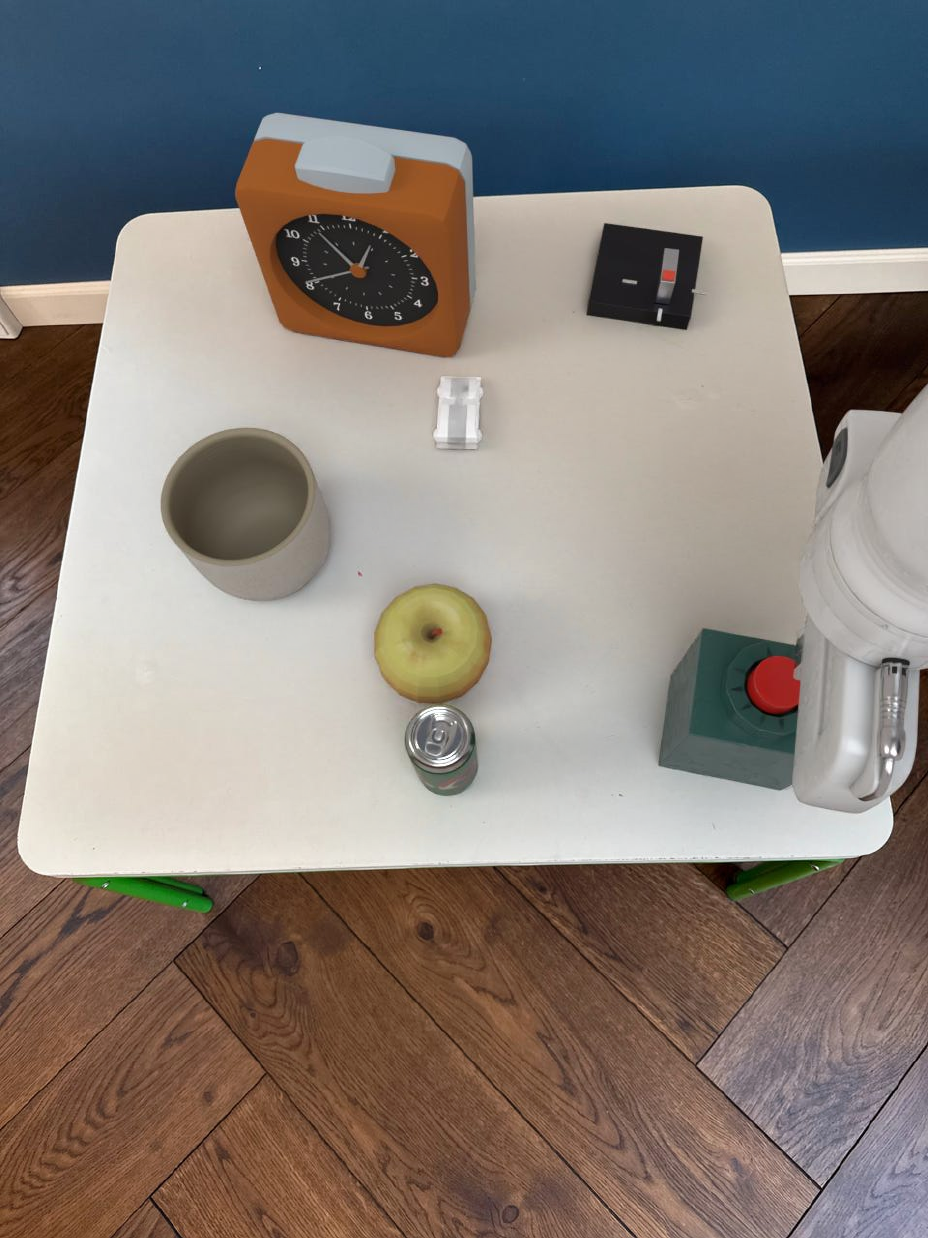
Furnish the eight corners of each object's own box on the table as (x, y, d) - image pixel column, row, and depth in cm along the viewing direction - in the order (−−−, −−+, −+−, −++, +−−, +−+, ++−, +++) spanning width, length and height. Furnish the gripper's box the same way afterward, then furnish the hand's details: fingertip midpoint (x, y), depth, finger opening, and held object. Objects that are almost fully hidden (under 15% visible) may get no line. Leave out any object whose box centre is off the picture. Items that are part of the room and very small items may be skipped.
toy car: (432, 453, 82) (430, 440, 80) (437, 381, 85) (435, 367, 83) (481, 454, 82) (481, 442, 80) (485, 382, 85) (484, 368, 83)
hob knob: (659, 270, 86) (665, 245, 83) (673, 271, 86) (679, 247, 83) (654, 302, 85) (660, 279, 82) (669, 304, 85) (675, 281, 82)
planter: (363, 524, 80) (344, 464, 70) (292, 638, 77) (261, 592, 66) (251, 470, 82) (216, 404, 72) (176, 578, 79) (129, 524, 69)
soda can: (486, 747, 73) (484, 713, 61) (466, 805, 71) (461, 781, 60) (429, 728, 73) (417, 691, 62) (408, 785, 72) (392, 758, 61)
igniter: (789, 697, 73) (854, 645, 60) (781, 790, 71) (846, 758, 58) (670, 674, 74) (708, 619, 61) (658, 766, 72) (694, 728, 59)
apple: (500, 703, 74) (501, 677, 66) (387, 721, 74) (375, 697, 66) (482, 597, 77) (480, 560, 70) (373, 614, 77) (360, 579, 70)
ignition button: (802, 668, 60) (810, 661, 58) (798, 718, 59) (806, 712, 57) (749, 658, 61) (756, 651, 59) (744, 708, 59) (751, 701, 58)
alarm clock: (280, 332, 88) (219, 163, 68) (304, 264, 91) (252, 82, 71) (458, 362, 86) (448, 197, 66) (477, 291, 89) (473, 113, 69)
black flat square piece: (709, 252, 89) (714, 236, 87) (696, 340, 86) (701, 326, 84) (601, 237, 90) (604, 221, 88) (584, 324, 87) (586, 309, 85)
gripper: (970, 805, 37) (850, 839, 50) (977, 400, 44) (869, 523, 57) (819, 775, 38) (738, 817, 51) (848, 382, 44) (770, 507, 57)
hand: (807, 659), depth 54 cm, fingers closed
